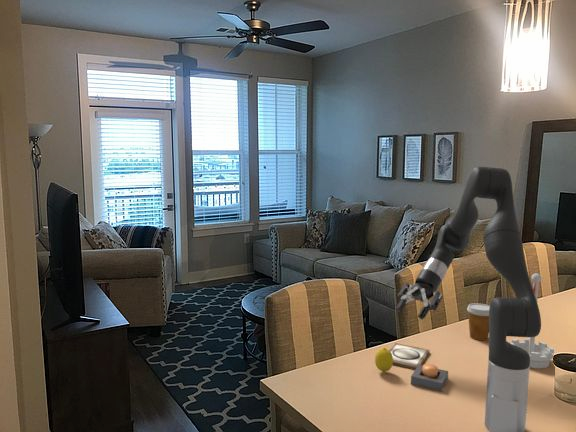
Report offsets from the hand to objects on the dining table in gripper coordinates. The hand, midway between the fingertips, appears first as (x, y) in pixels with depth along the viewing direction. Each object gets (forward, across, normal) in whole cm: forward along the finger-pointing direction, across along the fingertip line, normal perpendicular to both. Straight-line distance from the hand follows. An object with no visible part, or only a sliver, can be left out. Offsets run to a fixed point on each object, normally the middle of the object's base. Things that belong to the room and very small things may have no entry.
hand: (409, 314), depth 153 cm
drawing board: (+10, -3, +14) cm, 17 cm away
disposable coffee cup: (-16, +2, +40) cm, 43 cm away
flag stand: (-12, +24, +36) cm, 45 cm away
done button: (+14, +13, +6) cm, 20 cm away
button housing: (+15, +13, +8) cm, 21 cm away
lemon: (+20, 0, +3) cm, 20 cm away
